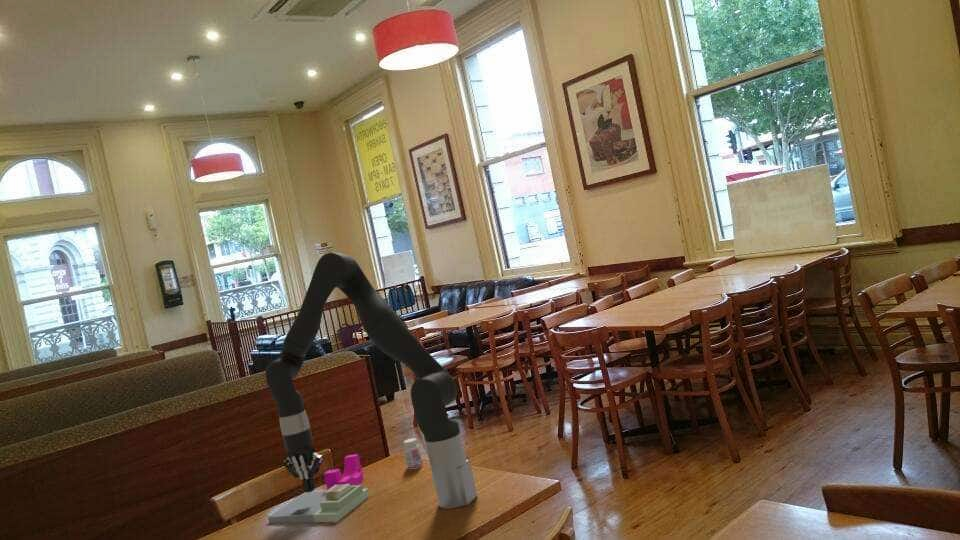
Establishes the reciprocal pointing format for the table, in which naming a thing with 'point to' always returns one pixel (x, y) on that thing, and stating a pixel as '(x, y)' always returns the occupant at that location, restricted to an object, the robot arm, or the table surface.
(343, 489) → the birch block
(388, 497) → the table surface
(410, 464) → the pill bottle
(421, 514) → the table surface
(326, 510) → the board
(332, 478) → the toy block
